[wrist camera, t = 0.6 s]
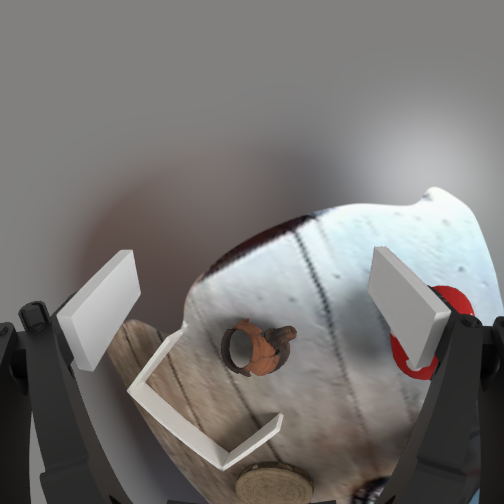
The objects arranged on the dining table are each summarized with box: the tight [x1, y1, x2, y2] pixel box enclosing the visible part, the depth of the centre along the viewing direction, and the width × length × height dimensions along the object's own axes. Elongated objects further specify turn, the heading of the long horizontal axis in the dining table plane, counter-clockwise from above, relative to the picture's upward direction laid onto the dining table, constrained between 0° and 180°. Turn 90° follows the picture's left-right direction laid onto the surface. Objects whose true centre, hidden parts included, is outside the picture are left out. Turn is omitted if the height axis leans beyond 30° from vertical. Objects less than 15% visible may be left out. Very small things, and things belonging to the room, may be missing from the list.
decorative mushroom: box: [390, 286, 475, 380], centre depth 32 cm, size 14×14×15 cm
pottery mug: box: [221, 319, 297, 377], centre depth 43 cm, size 12×10×8 cm
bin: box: [127, 329, 283, 471], centre depth 45 cm, size 24×16×5 cm
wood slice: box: [235, 462, 314, 504], centre depth 44 cm, size 16×16×3 cm
